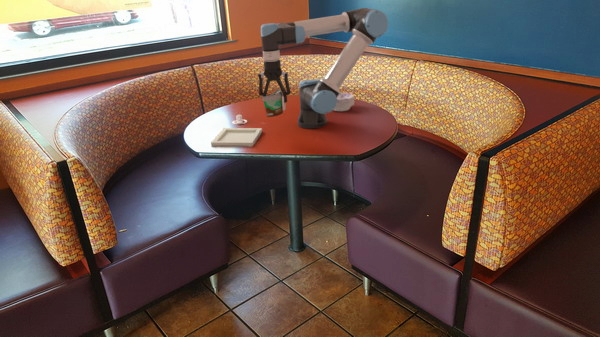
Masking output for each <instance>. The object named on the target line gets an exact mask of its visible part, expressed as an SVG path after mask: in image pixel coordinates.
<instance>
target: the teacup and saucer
mask: <svg viewBox="0 0 600 337" xmlns="http://www.w3.org/2000/svg"><path fill="white" fill-rule="evenodd" d="M235 118H236V120H232V122H231V123H232V124H234V125H243V124H246V123H248V120H247V119H243V116H242V114H237V115H235Z"/></svg>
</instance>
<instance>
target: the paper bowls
mask: <svg viewBox="0 0 600 337" xmlns="http://www.w3.org/2000/svg"><path fill="white" fill-rule="evenodd" d="M354 105H355V95H354V94H352V93H349V92H340V93H339V95H338V96H337V104H336V106H335V108H334V109H333V110H332V111H335V112H346V111H349V110H350V109H351V107H353V106H354Z"/></svg>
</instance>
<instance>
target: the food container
mask: <svg viewBox="0 0 600 337" xmlns="http://www.w3.org/2000/svg"><path fill="white" fill-rule="evenodd" d="M267 95H268V96H267ZM267 95H266V97H263V96H262V102H263V105H264V109H265V113H266V117H267V118H273V117H277V116H280V115H282V114H283V113H284V110H283V104H282V96H283V93H282V91H281V89H275V91H274V92H272V93H269V94H267Z"/></svg>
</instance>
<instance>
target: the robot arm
mask: <svg viewBox="0 0 600 337" xmlns="http://www.w3.org/2000/svg"><path fill="white" fill-rule="evenodd" d="M388 28H389V18H388V17H387V15H386V14H385V12H383V11H382V10H380V9H377V8H367V7H361V8H357V9H353V10H349V11H343V12H342V13H341V14H337V15H330V16H323V17H318V18H311V19H310V18H309V19H305V20H297V21H293V22H291V21H290V22H280V23H274V22H271V23H270V22H269V23H263V24H261V25H260V39H261V47H262V49H261V50H262V58H263V68H264V69H263V70H264V71H263V72H259V73H258V74H257V77H258V95H259V96H262V98H263V97H266V96H268V95H269V94H268V90H269V87H270V83H271V82H273V81H274V82H276V83H277V85H278V86H279V90H281V92H282V94H283V96H282V107H283V111H285V110H286V103H287V102H288V96H289V95H291V88H290V82H289V72H287V71H286V72H285V71H282V70H283V69H282V65H281V54H280V53H281V52H280V46H286V45H296V44H297V45H298V44H302V43H304V42H305V41H306V38H307V37H313V36H319V35H326V34H331V33H337V32H344V33H352V36H351V37H350V38H349V40H348V41H347V43H346V45H345V46H344V47H343V49H342V50H341V52H340V54H339V55H338V56H337V58H336V60H335V61H334V63H333V64H332V66H331V68H329V70H328V72H327V74H326V75H325V76H324V78H320V79H319V78H314V79H311V78H310V79H304V80H302V81H300V82H299V84H298V90H299V104H300V105H299V107H300V111H299V115H298V117H297V118H298V119H297V126H298V127H300V128H303V129H309V130H310V129H312V130H313V129H320V128H322V127H323V128H324V127H325V126H327V124H328V118H327V116H326V114H329V113H331V112H332V111H334V110H333V109H334V108H335V106H336V104H337V96H338V95H339V93H341V92H340V88H341V86H342V85H343V83H344V82H345V80H346V79H347V77H348V75H349V74H350V73H351V71H352V70H353V69H354V67H355V65H356V63H358V61H359V60H360V58H361V56H362V55H363V54H364V52H365V51H366V49H367V47H368V46H369V45H373V44H374V43H375V41H376V40H377V38H380V37H382V36H383V35H385V34H386V32H387V30H388ZM264 77H265V78H266V83H265V86H264ZM281 77H282V78H284V79H283V81H284V84H285V86H284V84H283V82H282V79H281ZM263 86H264V87H263Z"/></svg>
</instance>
